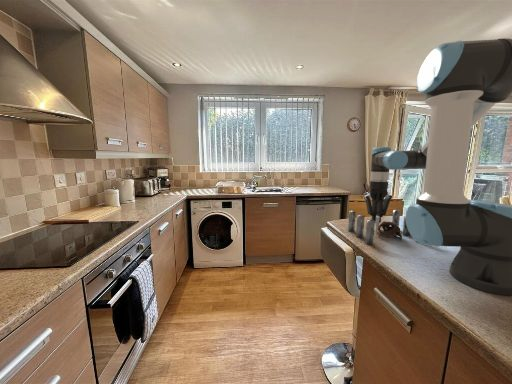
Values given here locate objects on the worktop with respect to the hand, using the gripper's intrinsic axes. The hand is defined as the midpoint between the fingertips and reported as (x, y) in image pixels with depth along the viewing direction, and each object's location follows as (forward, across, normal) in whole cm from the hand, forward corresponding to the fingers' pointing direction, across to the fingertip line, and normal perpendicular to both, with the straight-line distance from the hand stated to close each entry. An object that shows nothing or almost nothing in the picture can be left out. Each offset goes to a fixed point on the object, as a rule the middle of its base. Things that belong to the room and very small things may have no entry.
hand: (375, 229), depth 106 cm
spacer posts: (+1, 0, +6) cm, 6 cm away
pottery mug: (+2, -2, +7) cm, 8 cm away
